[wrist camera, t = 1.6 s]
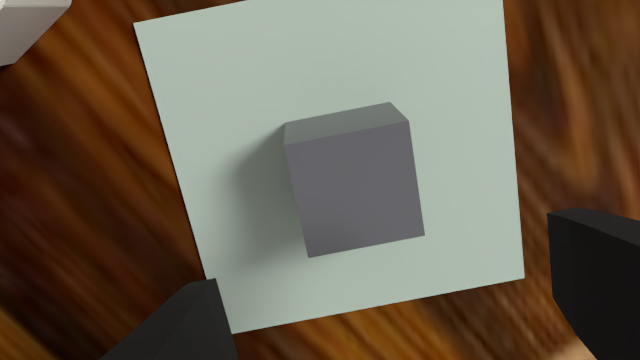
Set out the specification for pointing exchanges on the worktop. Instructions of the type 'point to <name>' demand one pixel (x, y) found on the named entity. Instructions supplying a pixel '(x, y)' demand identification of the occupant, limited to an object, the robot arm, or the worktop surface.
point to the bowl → (25, 24)
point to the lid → (340, 150)
